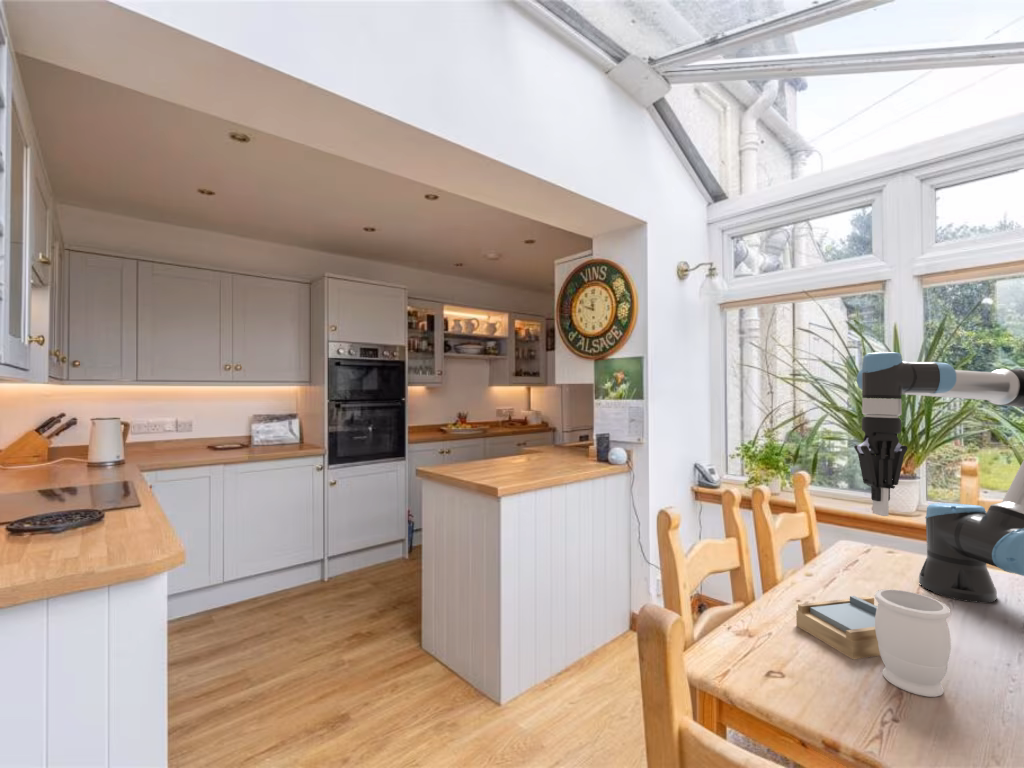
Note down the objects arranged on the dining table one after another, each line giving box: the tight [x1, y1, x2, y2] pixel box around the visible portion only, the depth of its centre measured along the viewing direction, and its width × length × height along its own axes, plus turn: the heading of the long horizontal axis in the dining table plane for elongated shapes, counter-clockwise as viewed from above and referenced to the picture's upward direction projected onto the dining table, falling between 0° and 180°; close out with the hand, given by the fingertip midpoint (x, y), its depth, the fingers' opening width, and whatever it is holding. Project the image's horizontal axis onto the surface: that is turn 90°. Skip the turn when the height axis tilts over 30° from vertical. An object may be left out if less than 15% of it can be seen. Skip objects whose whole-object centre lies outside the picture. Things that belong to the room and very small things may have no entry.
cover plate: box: [810, 595, 878, 632], centre depth 102 cm, size 12×10×3 cm
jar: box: [874, 588, 952, 698], centre depth 86 cm, size 11×10×15 cm
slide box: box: [795, 596, 881, 660], centre depth 103 cm, size 20×14×5 cm
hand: (880, 514), depth 114 cm, fingers closed
